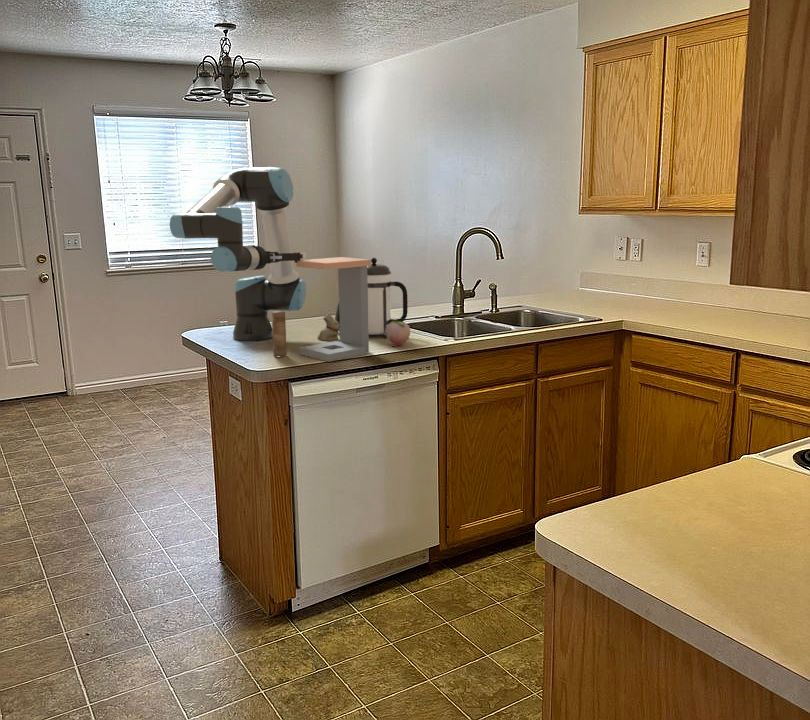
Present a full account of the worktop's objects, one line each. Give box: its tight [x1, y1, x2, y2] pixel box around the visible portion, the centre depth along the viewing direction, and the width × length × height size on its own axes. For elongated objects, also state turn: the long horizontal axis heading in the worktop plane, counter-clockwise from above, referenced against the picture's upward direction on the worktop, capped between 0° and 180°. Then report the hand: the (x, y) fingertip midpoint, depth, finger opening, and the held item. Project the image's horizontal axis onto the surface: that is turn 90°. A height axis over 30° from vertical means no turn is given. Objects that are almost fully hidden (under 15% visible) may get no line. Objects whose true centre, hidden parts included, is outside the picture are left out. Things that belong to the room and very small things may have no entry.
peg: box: [271, 311, 288, 357], centre depth 251 cm, size 4×4×15 cm
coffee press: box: [367, 257, 409, 339], centre depth 284 cm, size 17×16×30 cm
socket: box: [295, 256, 372, 362], centre depth 252 cm, size 16×19×32 cm
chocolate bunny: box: [317, 313, 340, 341], centre depth 280 cm, size 6×8×10 cm
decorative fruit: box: [385, 318, 411, 347], centre depth 267 cm, size 9×8×10 cm
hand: (292, 256), depth 256 cm, fingers open, 10 cm apart
